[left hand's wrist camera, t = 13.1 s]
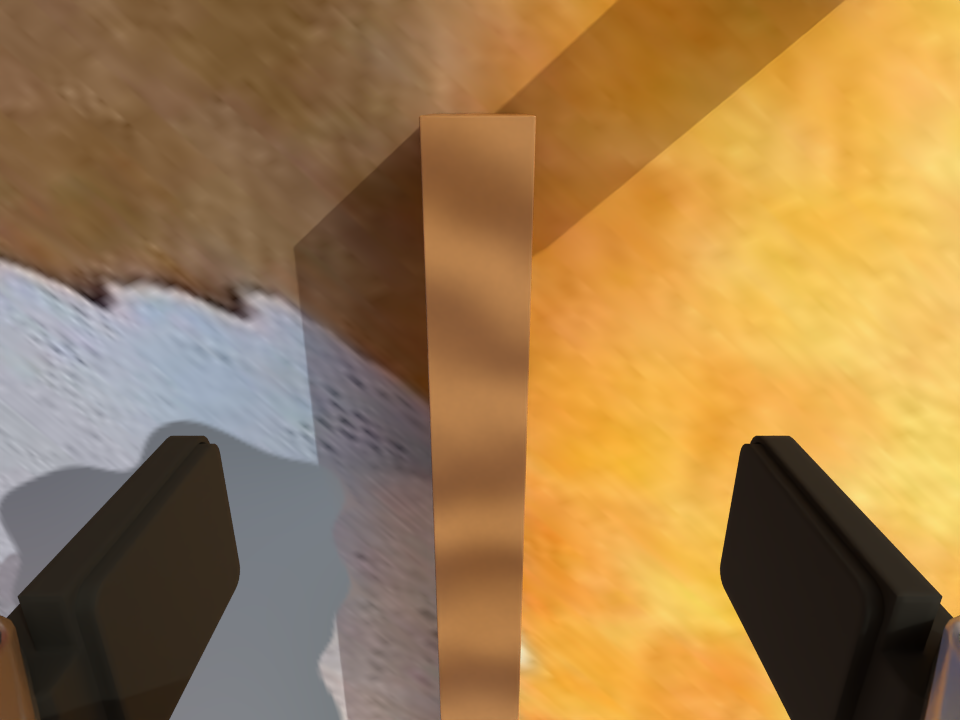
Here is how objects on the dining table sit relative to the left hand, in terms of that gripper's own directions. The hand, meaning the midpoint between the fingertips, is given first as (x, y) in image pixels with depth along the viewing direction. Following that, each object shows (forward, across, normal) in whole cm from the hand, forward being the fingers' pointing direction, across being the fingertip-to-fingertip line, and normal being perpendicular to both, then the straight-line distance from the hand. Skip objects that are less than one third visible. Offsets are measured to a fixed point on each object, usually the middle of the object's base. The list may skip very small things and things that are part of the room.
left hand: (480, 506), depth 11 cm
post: (+26, 0, -25) cm, 36 cm away
